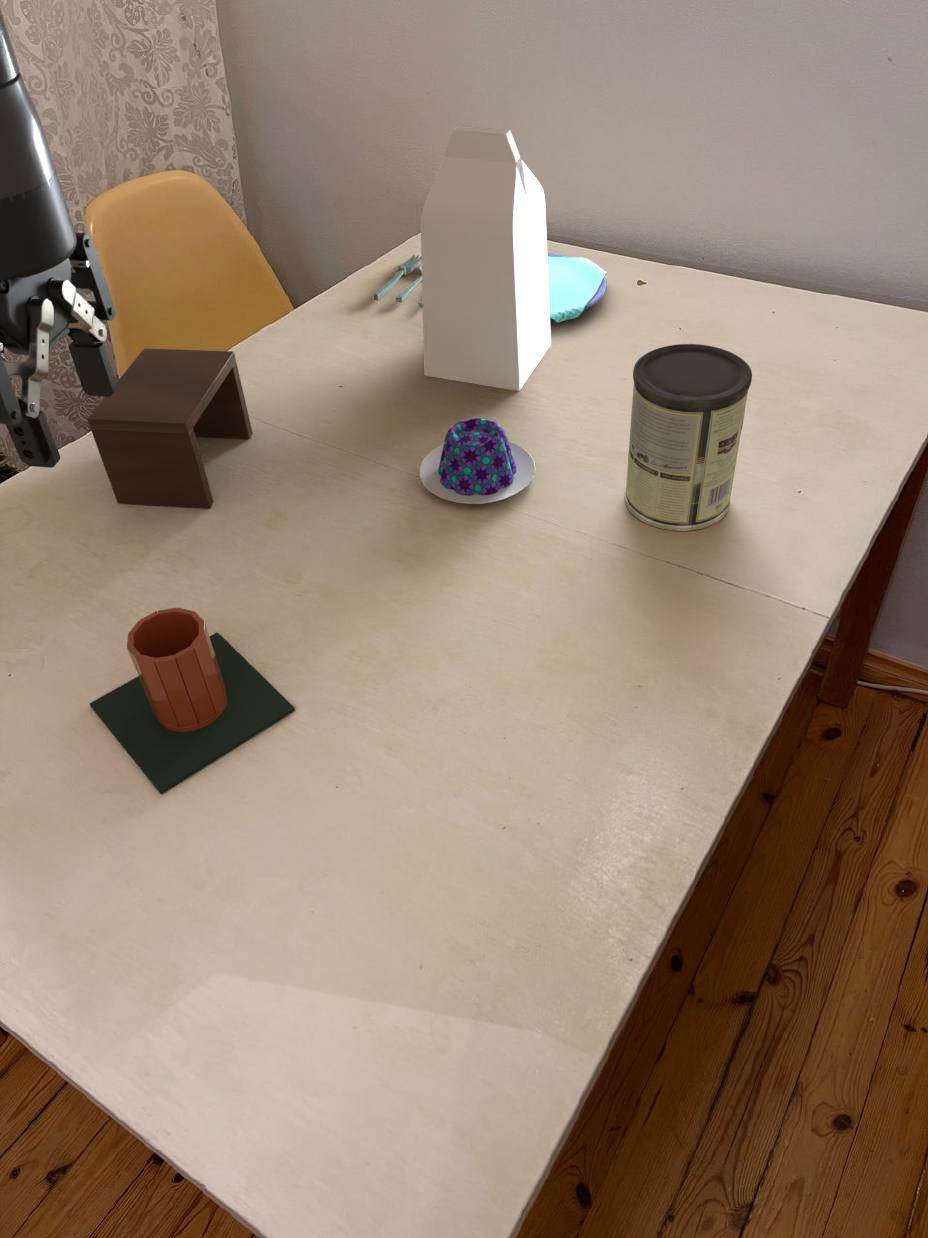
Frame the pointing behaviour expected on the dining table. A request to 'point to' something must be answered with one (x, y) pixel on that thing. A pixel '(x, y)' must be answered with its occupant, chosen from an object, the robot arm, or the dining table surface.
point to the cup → (178, 669)
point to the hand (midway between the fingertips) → (74, 427)
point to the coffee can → (685, 435)
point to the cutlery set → (567, 277)
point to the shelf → (168, 425)
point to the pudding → (477, 464)
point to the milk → (484, 264)
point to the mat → (189, 752)
